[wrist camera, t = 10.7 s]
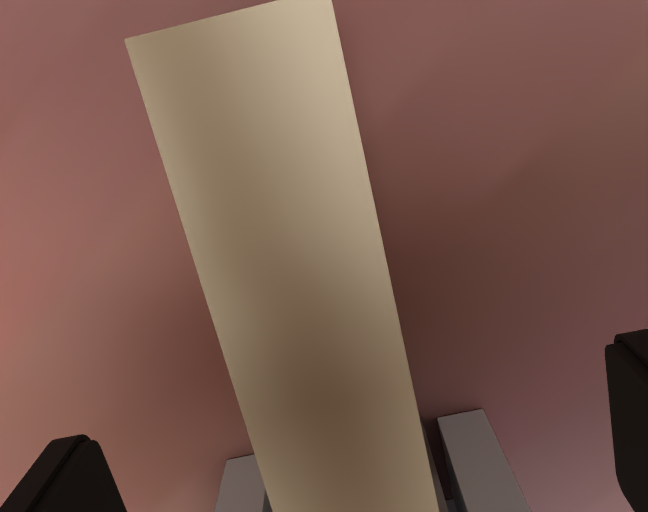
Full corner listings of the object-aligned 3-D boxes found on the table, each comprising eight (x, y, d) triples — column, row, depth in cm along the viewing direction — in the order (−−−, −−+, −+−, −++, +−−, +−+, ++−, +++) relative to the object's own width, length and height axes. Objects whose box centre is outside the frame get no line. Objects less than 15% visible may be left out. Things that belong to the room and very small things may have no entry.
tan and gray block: (336, 11, 17) (344, -18, 11) (436, 487, 22) (479, 644, 16) (179, 50, 17) (105, 42, 11) (313, 511, 22) (310, 675, 16)
